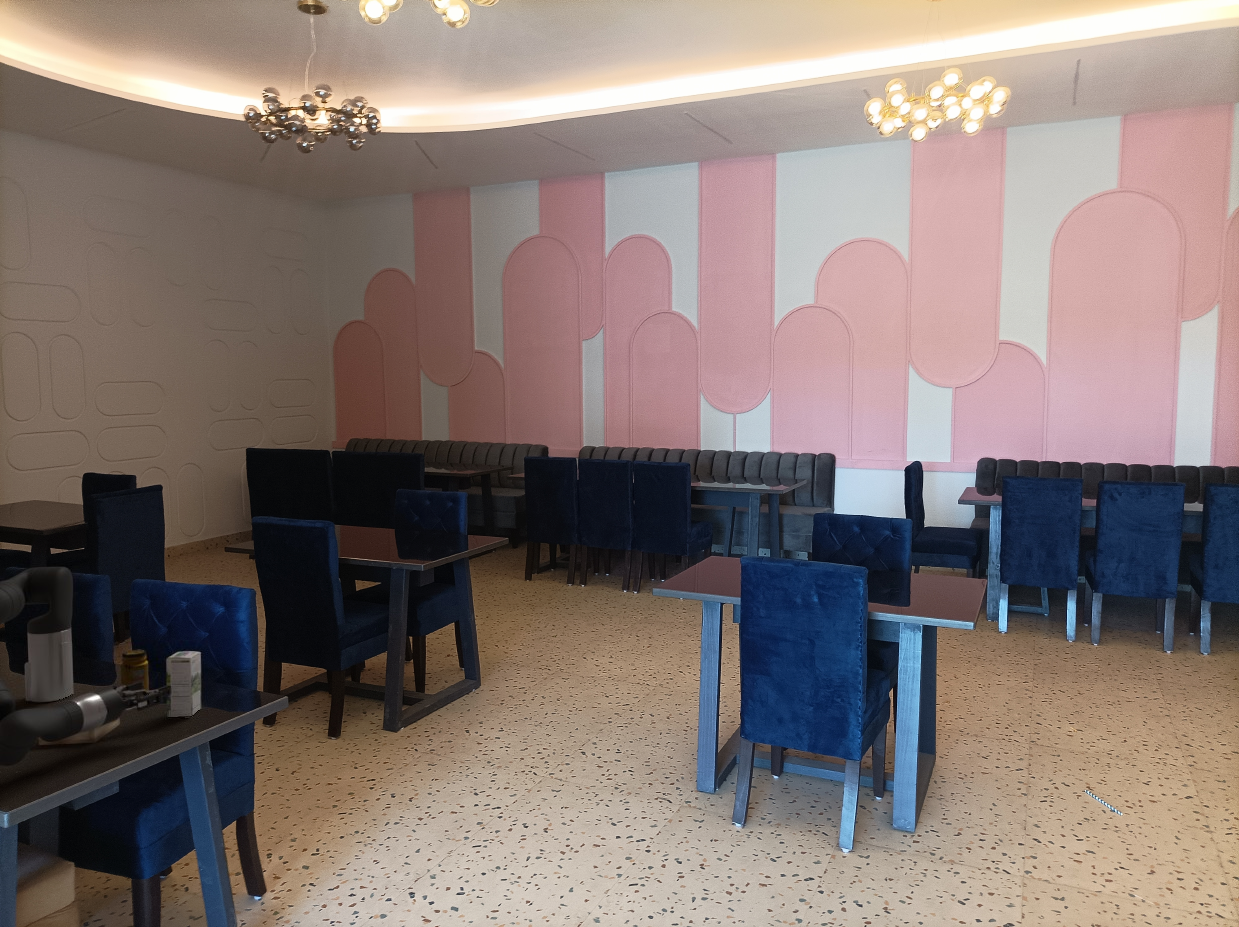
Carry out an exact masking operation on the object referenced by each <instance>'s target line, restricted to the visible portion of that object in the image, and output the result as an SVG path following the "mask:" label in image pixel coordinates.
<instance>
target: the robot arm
mask: <svg viewBox="0 0 1239 927" xmlns="http://www.w3.org/2000/svg"><path fill="white" fill-rule="evenodd" d="M73 595H74V581H73V575H72V572H71V570H70V569H69V568H67V567H65V566H43V567H42V566H39V567H37V566H36V567H31V568H28V569H25V570H23V571H21V572H20V573H18V574H16V575H14V576H12V577H11V578H8V579H6V580H2V581H0V625H2V624H4V623H7V622H10V621H11V620H13V619H15V618H16V617H18V616H19V615H20V613H22V611H23V609H24V607H25V605H44V604H45V605H47V604H49V611H48V612H46V613H45V614H43V615H40V616H37V617H34V618H31V619H30V620H29V621H28V622H27V627H26V628H27V651H28V652H27V653H28V661H27V662H25V663H24V681H25V683H24V684H25V685H24V686H25V701H26V702H33V703H47V702H54V701H60V700H64V699H66V698H65V697H67V698H69V697H71V696H72V695H71V694H73V695H74V673H73V672H74V669H73V643H72V640H73V638H72V618H73ZM139 694H142V697H140V698H139ZM148 694H149V695H148ZM70 695H71V696H70ZM169 695H171V686H169V685H167V684H166V685H163V686H162V687H159V688H156V689H151V690H149V691H146V690H145V689H143V690H142V682H136V683H133V684H131V685H128V686H124V685H123V686H121V685H120V686H118V685H112V686H110V687H108V686H107V687H102V688H99V689H96V690H94V691H90V692H87V693H84V694H81V695H78V696H76V697H73V698H71V699H69V700H67V701H64V702H61V703H58V704H55V705H52V706H50V707H36V708H35V707H34V708H33V707H32V708H23V709H18V710H16V711H15V708H16V699H15V697H14V696H13V694H12V693H11V691H10V689H9V688H8V687H7V685H6V683H5V682H4V681H3V679H2V677H1V676H0V766H1V767H10V766H14V765H17V764H18V763H20V762H21V761H23V760H24V759H25V758H26V756H27V755H28V753H29V751H30V749H32V748H33V745H34V743H35V742H36V740H37V739H39V737H40V739H42V740H43V741H46V742H56V741H59V740H62V739H65V738H67V737H70V736H73V735H75V734H78V733H83V732H86V731H89V730H92V729H95V728H97V727H100V726H103V725H105V724H108V723H111V722H113V721H116V720H117V719H118V718H119V717H121V715H122V713H123V712H124V711H130V710H132V709H135V708H136V710H137V711H140V712H141V711H143V710H146V709H149V708H151V707H155V706H158V705H160V704H163V698H167V696H169ZM68 696H69V697H68ZM63 698H64V699H63ZM59 699H60V700H59Z"/></svg>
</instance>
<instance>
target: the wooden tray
mask: <svg viewBox="0 0 1239 927" xmlns="http://www.w3.org/2000/svg"><path fill="white" fill-rule="evenodd" d="M120 717H121V716H120ZM120 717H119V718H118V719H117V720H116V721H113V722H111V723H108V724H105V725H103V726H100V727H97V728H95V729H92V730H89V731H86V732H83V733H78V734H75V735H73V736H70V737H67V738H65V739H62V740H59V741H56V742H46V741H43V740H42V739H40V737H39V738H38V745H39V746H47V745H48V746H49V745H65V744H66V745H68V744H70V745H71V744H92V743H96V742H97V741H99V740H100V739H102V738H104V737H105V736H106V735H107V734H108V733H110V732H111V731H113V730H114V729H115V728H117V727H118V726H119V725H121V721H120Z"/></svg>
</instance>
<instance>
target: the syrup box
mask: <svg viewBox="0 0 1239 927" xmlns="http://www.w3.org/2000/svg"><path fill="white" fill-rule="evenodd" d="M201 654H202V652H200V651H193V650H192V651H191V650H190V651H189V650H186V651H177V652H175V653H173V654H172V655H171V656H168V657H167V658H166V659H165V660H166V662H165V663H166V666H165V667H166V671H165V672H166V686H167V685H169V686H171V695H169V696H166V718H167V717H178V716H192V715H194V714H195V713H196V712H197V711H198V710H200V709H201V710H202V678H201V677H202V663H201V662H202V660H201V659H202V658H201V656H202V655H201ZM201 710H200V711H201ZM198 712H199V711H198ZM198 712H197V713H198ZM197 713H196V714H197ZM196 714H195V715H196ZM195 715H194V716H195ZM192 717H193V716H192Z"/></svg>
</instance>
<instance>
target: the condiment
mask: <svg viewBox="0 0 1239 927" xmlns="http://www.w3.org/2000/svg"><path fill="white" fill-rule="evenodd" d="M121 657H122V659H121V661H122V663H121V665H120V686H123V685H124V686H128V685H131V684H133V683H136V682H142V690H143V689H145V690H146V691H150V689H149V688H150V687H149V684H150V682H149V681H150V680H149V661H148V660H147V651H146V650H144V649H133V650H127V651H124V652H123V653H122V656H121ZM140 697H142V694H139V698H140Z"/></svg>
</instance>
